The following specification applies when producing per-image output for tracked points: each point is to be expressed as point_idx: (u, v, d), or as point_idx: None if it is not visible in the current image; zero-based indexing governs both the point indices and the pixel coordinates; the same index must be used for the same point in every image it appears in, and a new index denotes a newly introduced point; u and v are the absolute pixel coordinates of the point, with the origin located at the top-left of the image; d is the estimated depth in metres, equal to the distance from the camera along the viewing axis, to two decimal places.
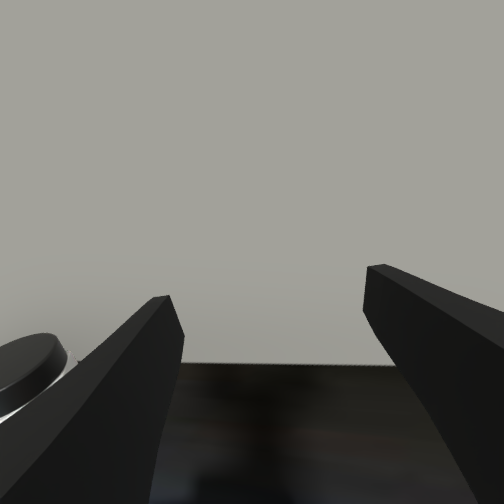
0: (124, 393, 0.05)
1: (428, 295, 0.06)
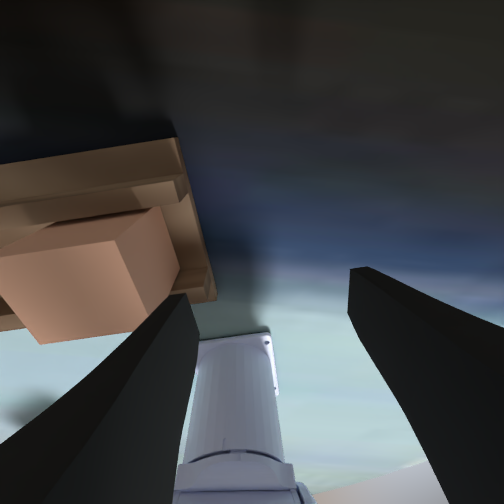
0: (150, 389, 0.05)
1: (404, 298, 0.06)
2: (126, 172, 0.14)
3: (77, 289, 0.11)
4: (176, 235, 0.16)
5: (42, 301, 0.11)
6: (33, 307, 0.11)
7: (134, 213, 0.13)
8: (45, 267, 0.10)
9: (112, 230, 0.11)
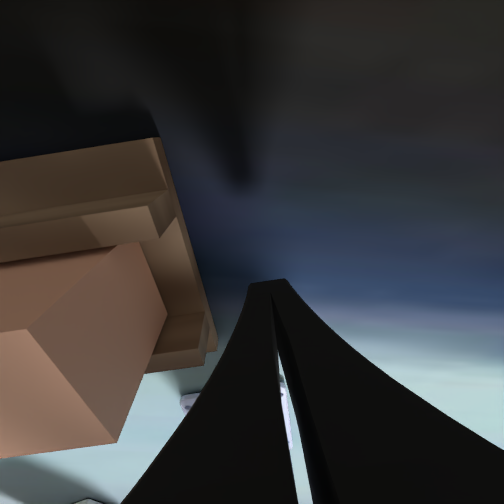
0: None
1: (289, 315, 0.06)
2: (85, 189, 0.10)
3: None
4: (160, 272, 0.12)
5: None
6: None
7: (93, 251, 0.09)
8: None
9: (40, 294, 0.06)
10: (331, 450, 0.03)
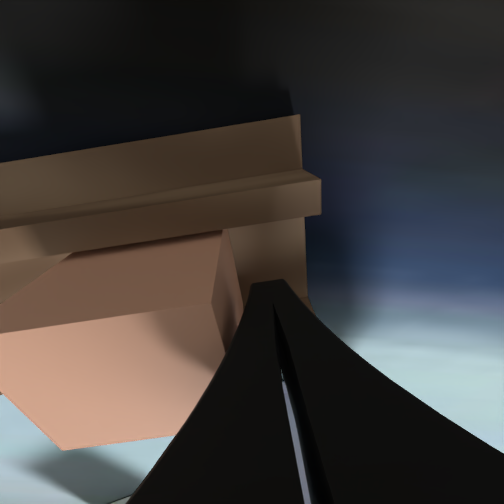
0: None
1: (287, 315, 0.06)
2: (221, 168, 0.10)
3: (131, 378, 0.06)
4: (274, 256, 0.12)
5: (70, 396, 0.06)
6: (54, 404, 0.06)
7: (201, 236, 0.09)
8: (79, 347, 0.06)
9: (188, 273, 0.06)
10: (327, 451, 0.03)
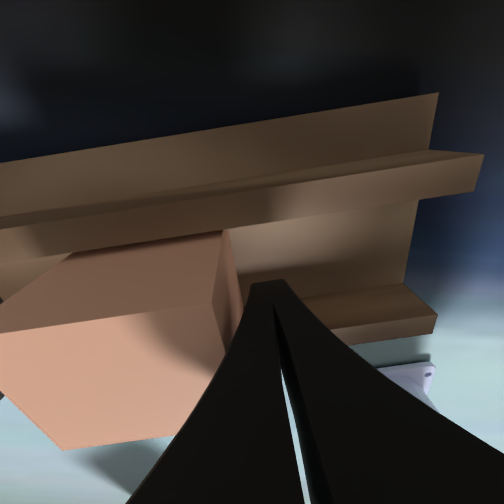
0: None
1: (287, 315, 0.06)
2: (348, 148, 0.10)
3: (131, 378, 0.06)
4: (380, 240, 0.12)
5: (70, 396, 0.06)
6: (54, 404, 0.06)
7: (201, 236, 0.09)
8: (79, 347, 0.06)
9: (188, 273, 0.06)
10: (327, 450, 0.03)
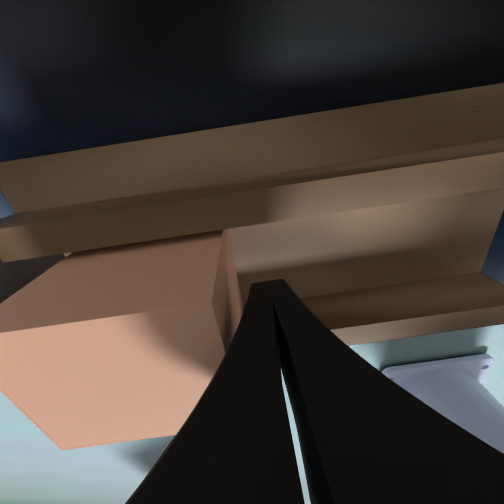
0: None
1: (287, 315, 0.06)
2: (453, 133, 0.09)
3: (130, 378, 0.06)
4: (466, 228, 0.11)
5: (70, 396, 0.06)
6: (54, 404, 0.06)
7: (201, 236, 0.09)
8: (79, 347, 0.06)
9: (188, 273, 0.06)
10: (327, 451, 0.03)
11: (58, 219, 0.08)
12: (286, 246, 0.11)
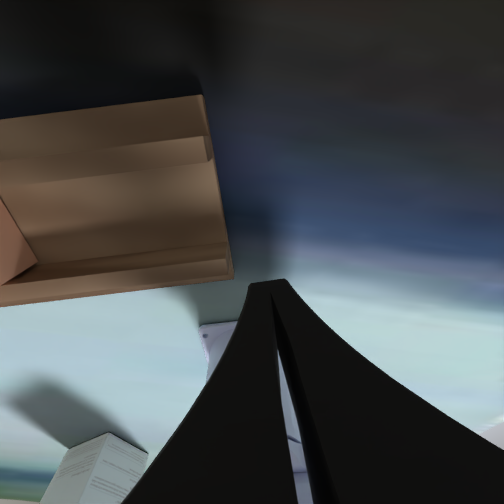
0: None
1: (289, 315, 0.06)
2: (148, 132, 0.13)
3: None
4: (196, 205, 0.15)
5: None
6: None
7: None
8: None
9: None
10: (331, 450, 0.03)
11: None
12: (59, 215, 0.15)
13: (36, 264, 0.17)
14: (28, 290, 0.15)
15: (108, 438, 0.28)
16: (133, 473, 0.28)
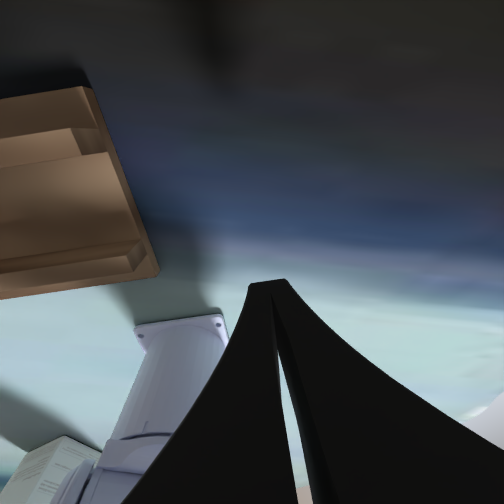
0: None
1: (289, 315, 0.06)
2: (35, 127, 0.13)
3: None
4: (101, 201, 0.15)
5: None
6: None
7: None
8: None
9: None
10: (331, 450, 0.03)
11: None
12: None
13: None
14: None
15: (63, 441, 0.28)
16: None
